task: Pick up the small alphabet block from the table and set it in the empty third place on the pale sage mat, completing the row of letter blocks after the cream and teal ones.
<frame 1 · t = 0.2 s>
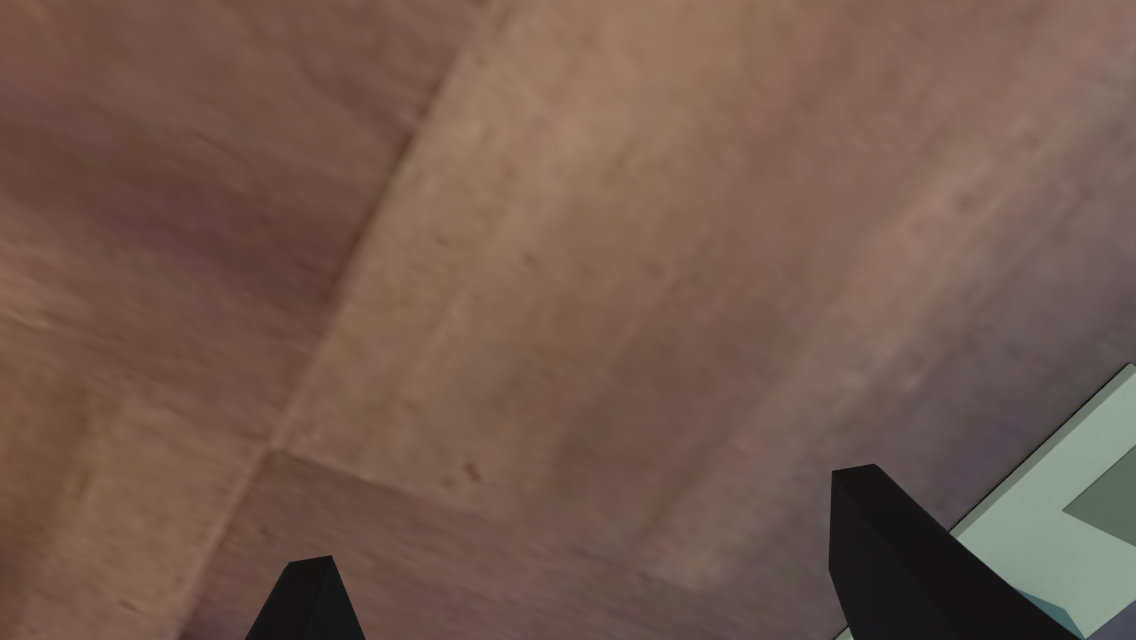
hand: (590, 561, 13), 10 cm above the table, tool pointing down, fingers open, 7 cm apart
teal letter block: (982, 628, 31), resting on word mat
word mat: (976, 619, 31), on the table
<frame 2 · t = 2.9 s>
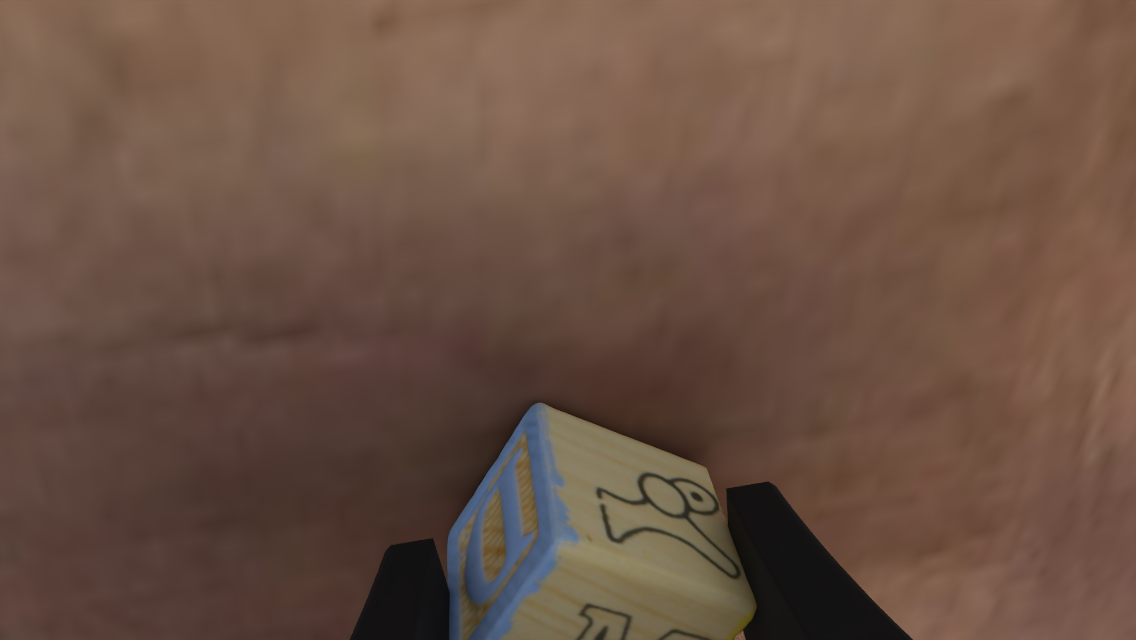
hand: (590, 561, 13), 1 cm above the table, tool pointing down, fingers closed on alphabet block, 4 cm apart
alphabet block: (576, 485, 14), on the table, touching gripper
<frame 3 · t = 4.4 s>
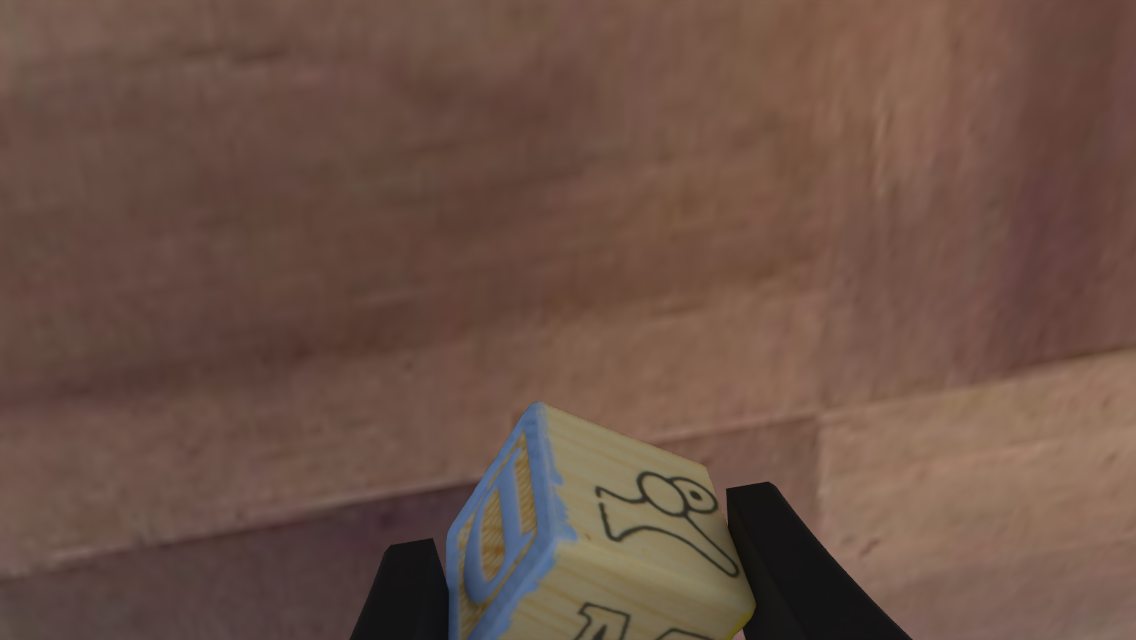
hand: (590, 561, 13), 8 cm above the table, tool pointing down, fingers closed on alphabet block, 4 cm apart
alphabet block: (575, 484, 14), point 7 cm above the table, touching gripper
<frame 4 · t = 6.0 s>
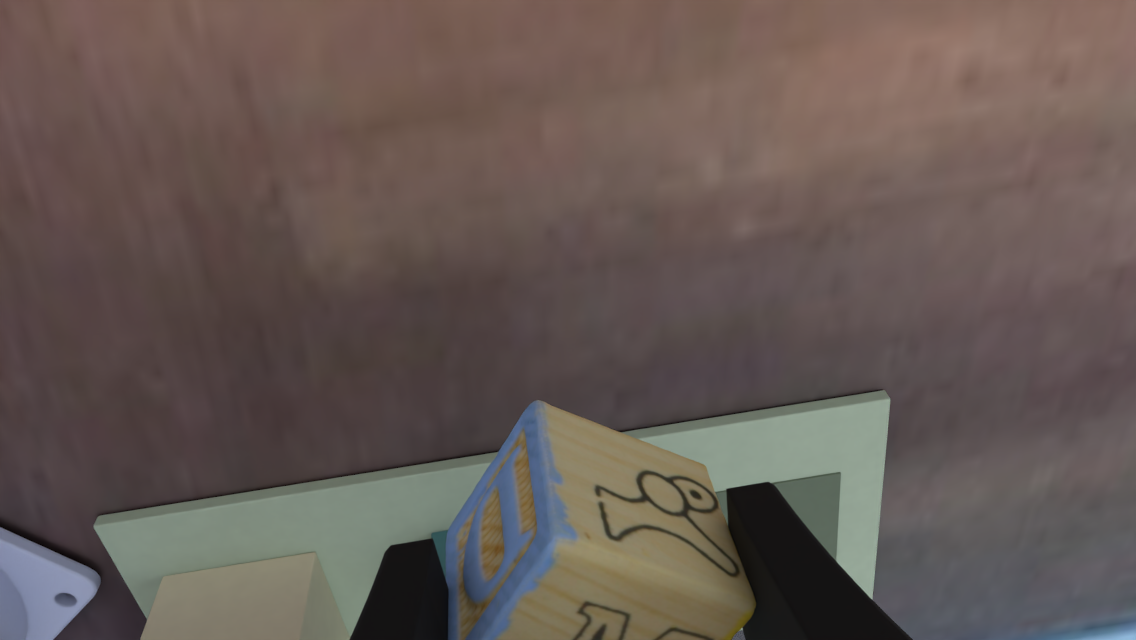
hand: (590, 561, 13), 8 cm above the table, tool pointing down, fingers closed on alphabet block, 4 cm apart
teal letter block: (518, 572, 24), resting on word mat
alphabet block: (575, 483, 14), point 7 cm above the table, touching gripper
word mat: (518, 560, 25), on the table
cream letter block: (263, 613, 24), resting on word mat
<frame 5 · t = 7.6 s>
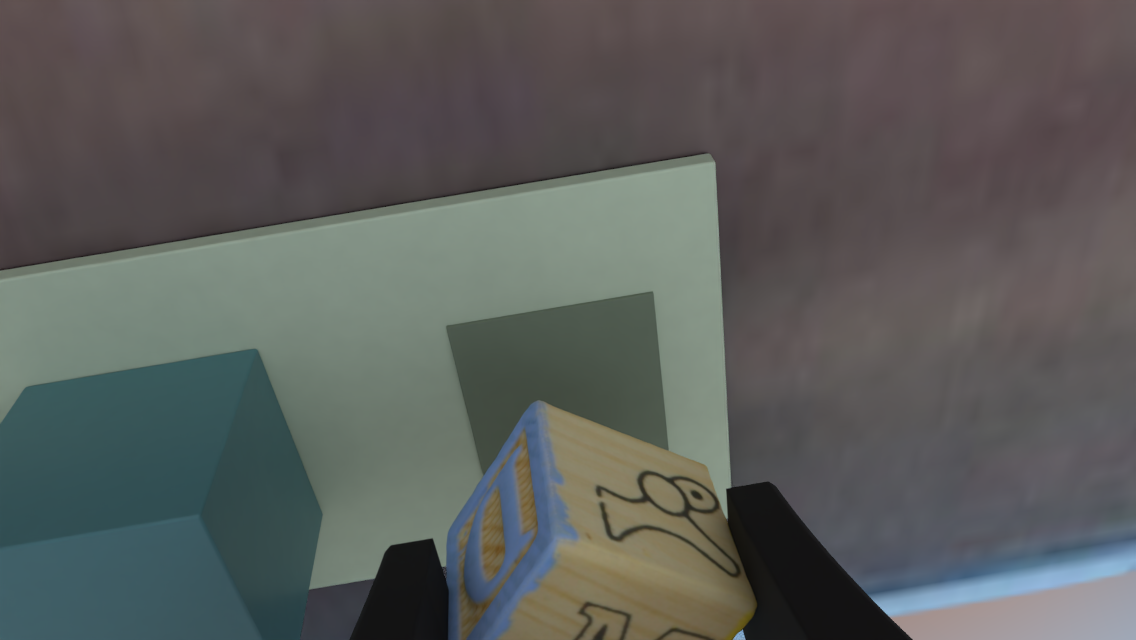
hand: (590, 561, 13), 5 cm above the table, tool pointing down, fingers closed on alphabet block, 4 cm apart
teal letter block: (184, 454, 16), resting on word mat
alphabet block: (576, 483, 14), point 3 cm above the table, touching gripper
word mat: (189, 440, 17), on the table
when the fingers open (2 cm above the table, at t = 8.9 s): alphabet block stays where it is, resting on word mat.
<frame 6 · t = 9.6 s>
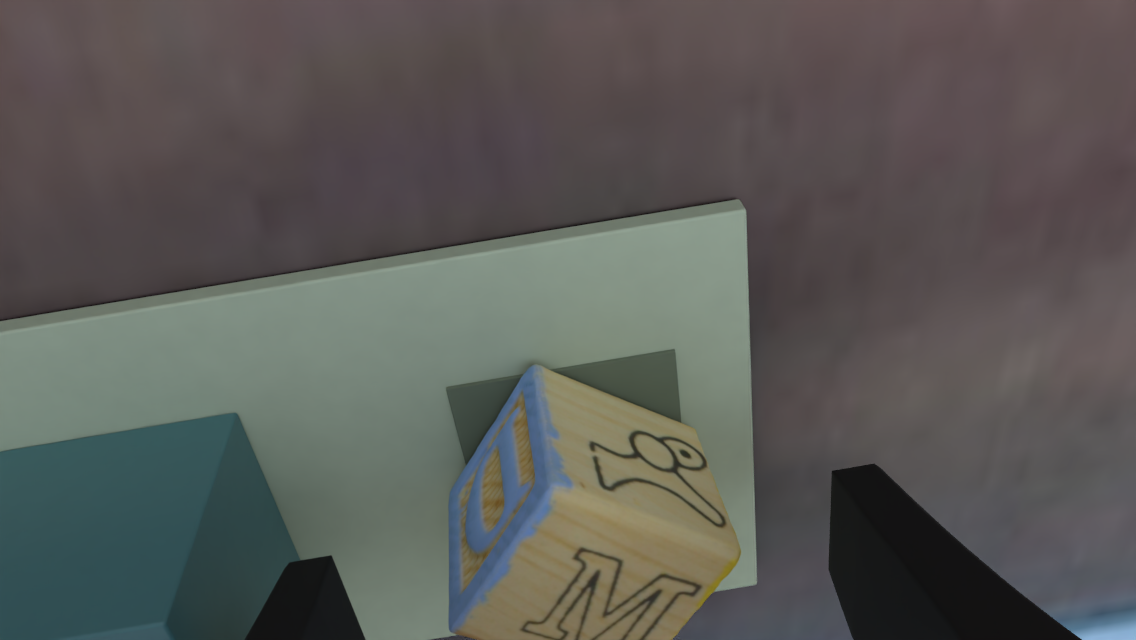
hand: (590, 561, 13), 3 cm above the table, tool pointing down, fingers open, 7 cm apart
teal letter block: (158, 524, 15), resting on word mat
alphabet block: (571, 447, 15), resting on word mat
word mat: (165, 507, 15), on the table
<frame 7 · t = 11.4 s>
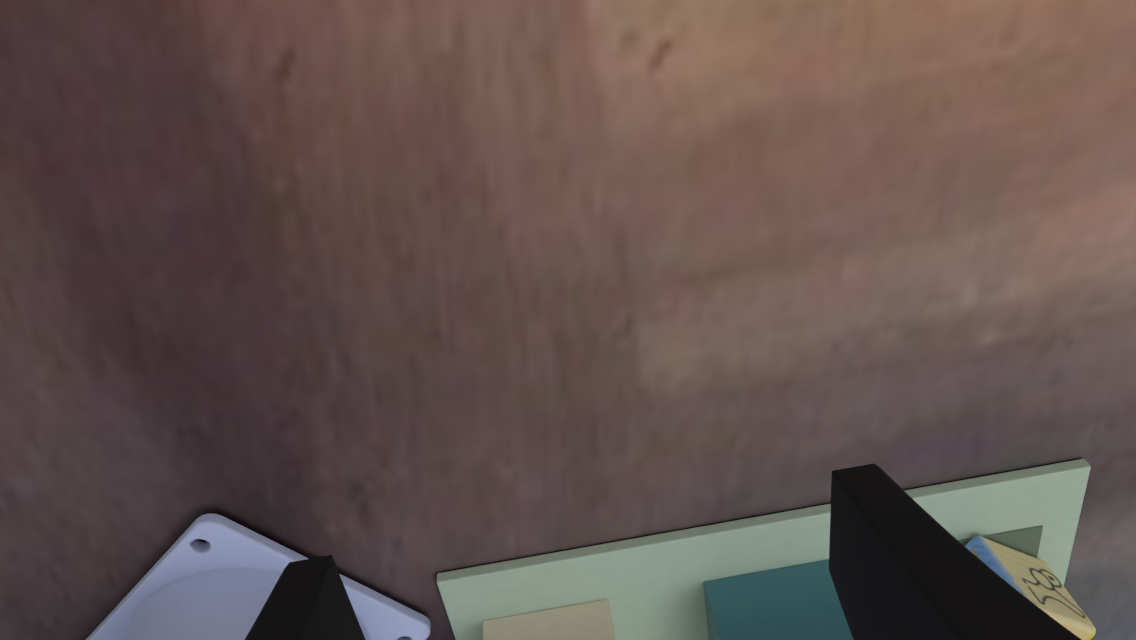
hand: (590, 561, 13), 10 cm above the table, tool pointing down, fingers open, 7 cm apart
teal letter block: (767, 611, 29), resting on word mat
alphabet block: (977, 569, 29), resting on word mat
word mat: (764, 601, 30), on the table
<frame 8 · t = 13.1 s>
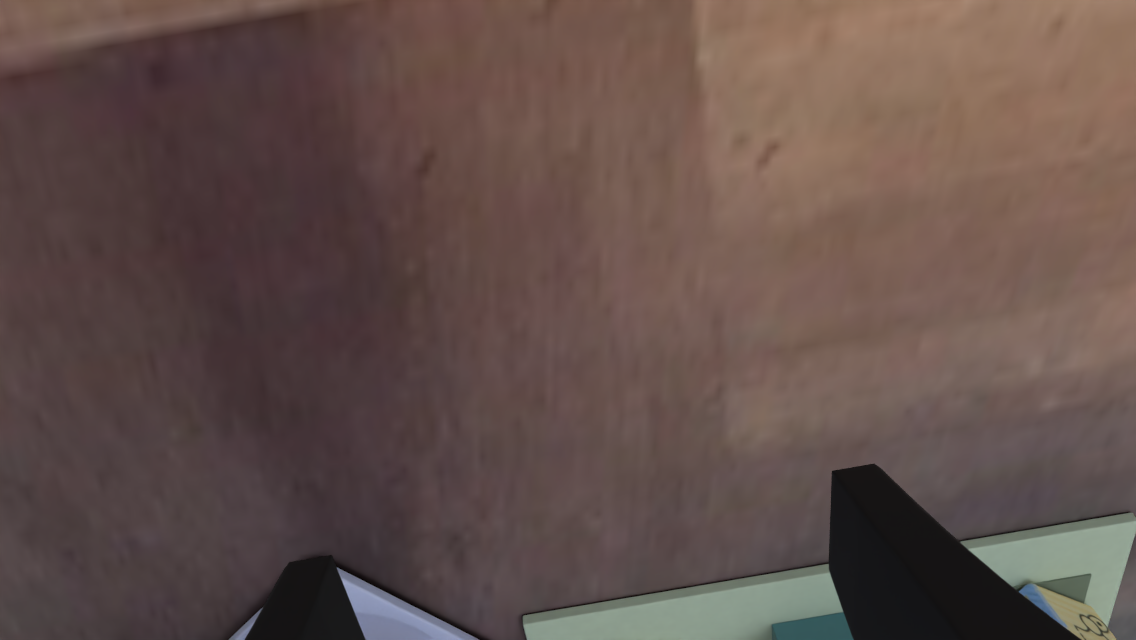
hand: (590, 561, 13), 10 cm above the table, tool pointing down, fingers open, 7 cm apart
alphabet block: (1026, 613, 31), resting on word mat
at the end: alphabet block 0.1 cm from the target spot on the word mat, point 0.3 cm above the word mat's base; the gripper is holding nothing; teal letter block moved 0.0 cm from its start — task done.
